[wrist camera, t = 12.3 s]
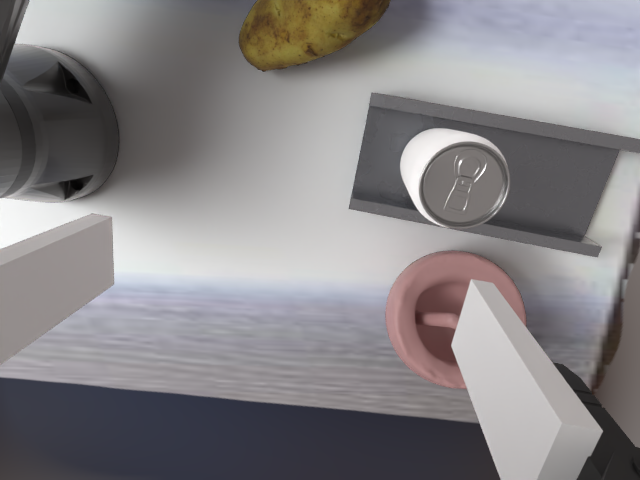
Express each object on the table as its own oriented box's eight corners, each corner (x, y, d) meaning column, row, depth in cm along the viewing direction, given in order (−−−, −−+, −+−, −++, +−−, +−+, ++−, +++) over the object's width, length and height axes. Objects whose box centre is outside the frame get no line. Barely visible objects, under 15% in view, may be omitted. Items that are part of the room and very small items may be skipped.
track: (350, 199, 39) (348, 208, 35) (371, 94, 36) (371, 92, 32) (574, 242, 38) (597, 257, 34) (617, 137, 35) (647, 140, 31)
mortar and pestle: (524, 259, 39) (582, 315, 28) (469, 354, 43) (502, 435, 32) (410, 217, 39) (426, 257, 28) (366, 316, 43) (365, 384, 32)
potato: (240, -26, 34) (204, -65, 27) (389, -44, 33) (395, -92, 25) (251, 76, 37) (221, 66, 29) (390, 64, 35) (396, 51, 28)
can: (481, 136, 35) (534, 147, 24) (458, 205, 37) (496, 245, 26) (410, 120, 35) (428, 123, 24) (391, 189, 37) (399, 222, 26)
